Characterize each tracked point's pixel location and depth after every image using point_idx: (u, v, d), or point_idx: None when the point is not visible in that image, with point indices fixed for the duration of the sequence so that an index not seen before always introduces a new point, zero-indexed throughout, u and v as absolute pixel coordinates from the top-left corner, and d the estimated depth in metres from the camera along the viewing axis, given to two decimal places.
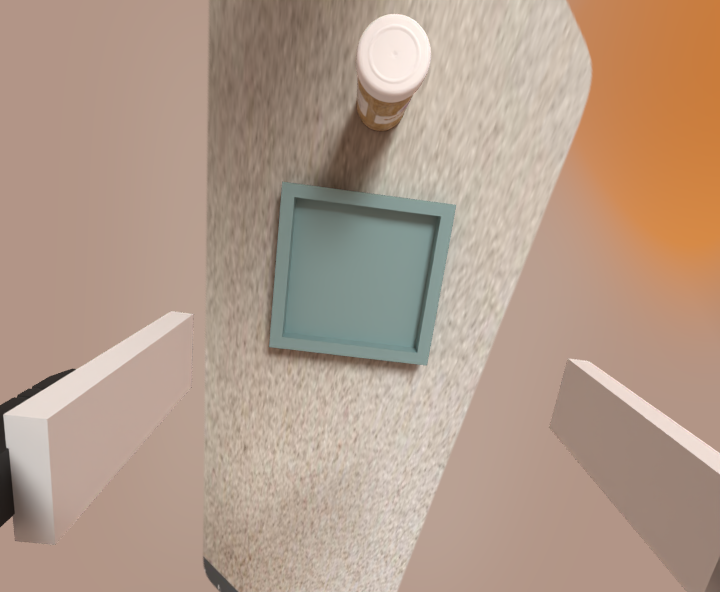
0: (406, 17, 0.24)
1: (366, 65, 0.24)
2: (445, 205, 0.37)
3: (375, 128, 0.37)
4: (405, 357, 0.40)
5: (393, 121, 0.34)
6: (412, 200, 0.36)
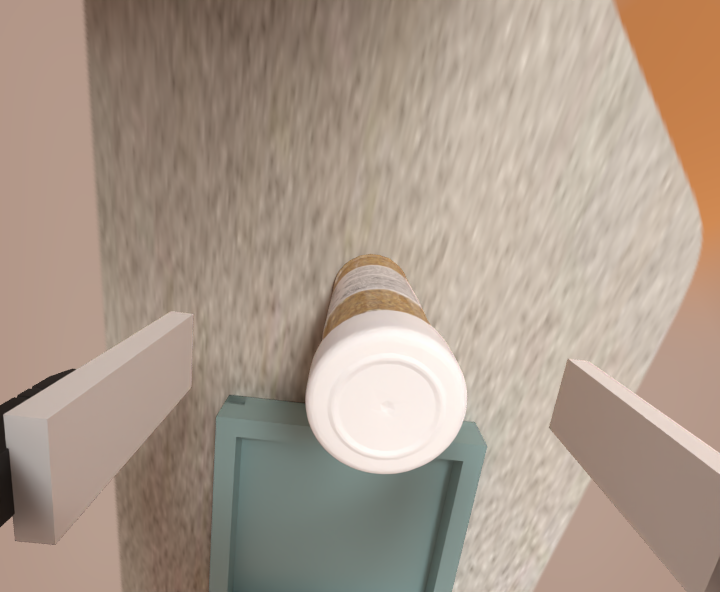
0: (414, 338, 0.10)
1: (325, 428, 0.11)
2: (470, 446, 0.24)
3: None
4: None
5: None
6: None
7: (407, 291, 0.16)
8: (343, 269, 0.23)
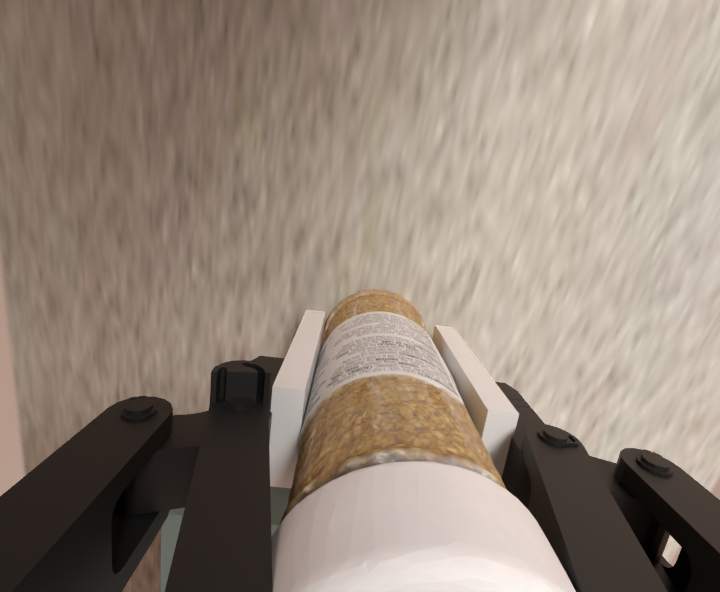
0: (496, 585, 0.04)
1: None
2: None
3: None
4: None
5: None
6: None
7: (437, 369, 0.10)
8: (337, 311, 0.16)
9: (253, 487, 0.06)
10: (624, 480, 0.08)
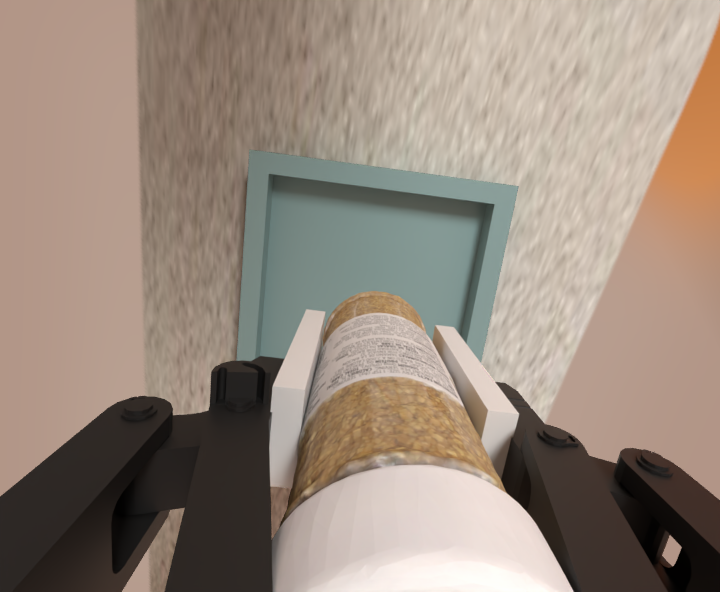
0: (496, 590, 0.04)
1: None
2: (501, 187, 0.24)
3: None
4: None
5: None
6: (451, 179, 0.24)
7: (436, 371, 0.10)
8: (336, 312, 0.16)
9: (253, 486, 0.06)
10: (624, 480, 0.08)
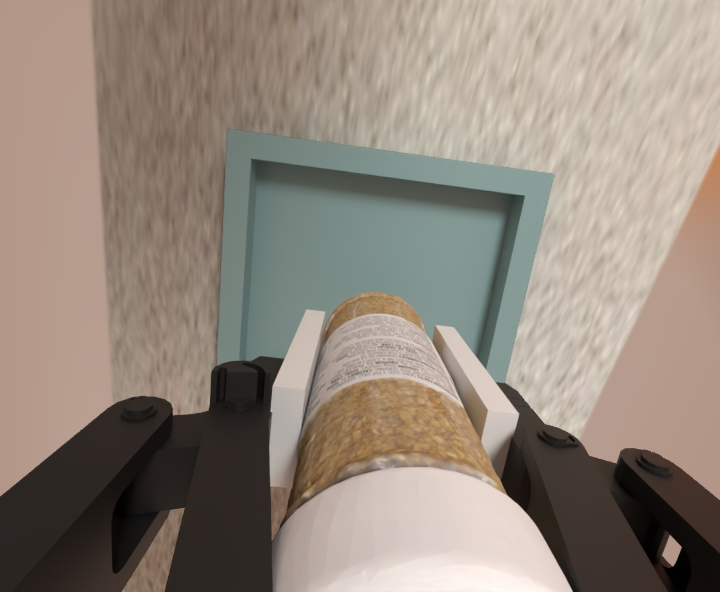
0: None
1: None
2: (534, 174, 0.20)
3: None
4: None
5: None
6: (473, 165, 0.19)
7: (436, 372, 0.10)
8: (336, 313, 0.16)
9: (253, 487, 0.06)
10: (624, 480, 0.08)
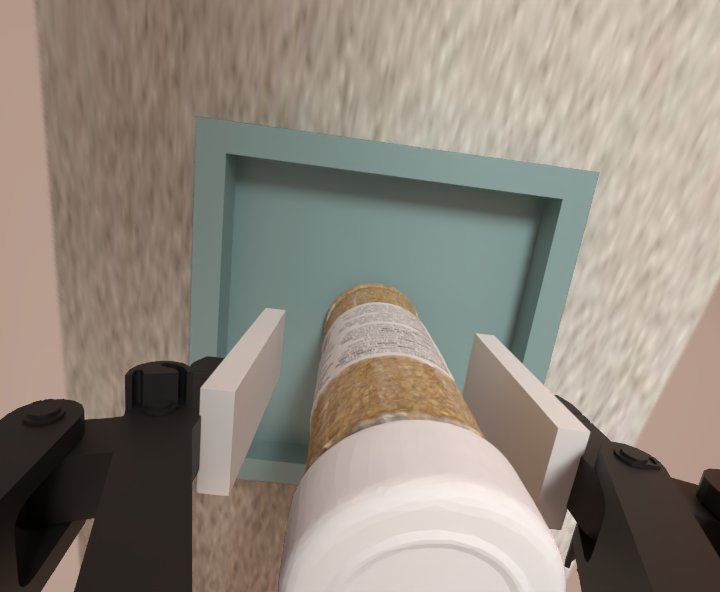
0: (479, 501, 0.06)
1: None
2: (574, 173, 0.16)
3: None
4: None
5: None
6: (499, 161, 0.16)
7: (431, 351, 0.11)
8: (337, 302, 0.18)
9: (173, 493, 0.06)
10: (707, 500, 0.08)
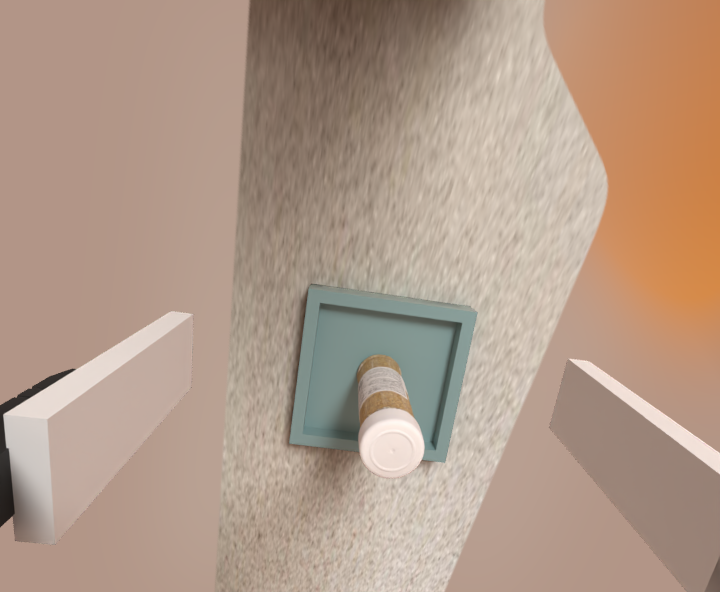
0: (403, 423, 0.27)
1: (367, 458, 0.27)
2: (466, 312, 0.38)
3: None
4: (424, 454, 0.41)
5: None
6: (435, 307, 0.37)
7: (400, 389, 0.33)
8: (363, 363, 0.39)
9: None
10: None
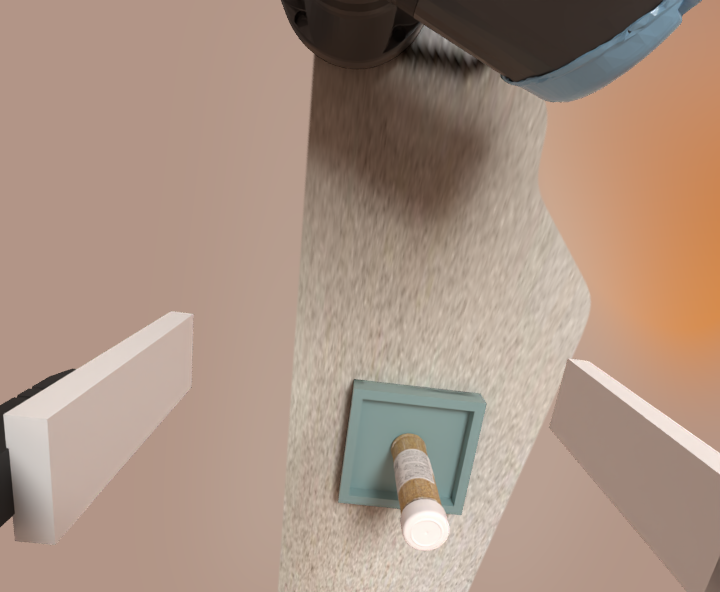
0: (434, 514, 0.37)
1: (408, 538, 0.38)
2: (478, 404, 0.48)
3: None
4: (444, 509, 0.51)
5: None
6: (453, 400, 0.48)
7: (428, 474, 0.43)
8: (396, 441, 0.50)
9: None
10: None
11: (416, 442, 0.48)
